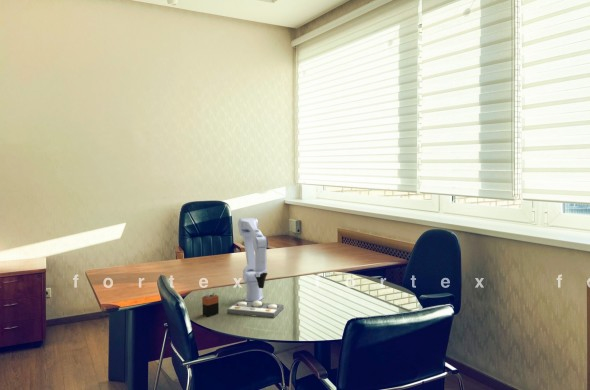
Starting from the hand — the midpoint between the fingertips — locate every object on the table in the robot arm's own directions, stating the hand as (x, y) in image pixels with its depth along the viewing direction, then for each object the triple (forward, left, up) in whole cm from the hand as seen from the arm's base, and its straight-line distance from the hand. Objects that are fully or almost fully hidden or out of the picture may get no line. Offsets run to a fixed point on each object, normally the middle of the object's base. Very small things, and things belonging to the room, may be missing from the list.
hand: (261, 287), depth 239 cm
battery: (+16, -20, -11) cm, 28 cm away
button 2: (+3, -1, -9) cm, 9 cm away
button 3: (+3, +7, -10) cm, 12 cm away
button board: (+5, -1, -10) cm, 11 cm away
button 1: (+3, -9, -10) cm, 14 cm away
